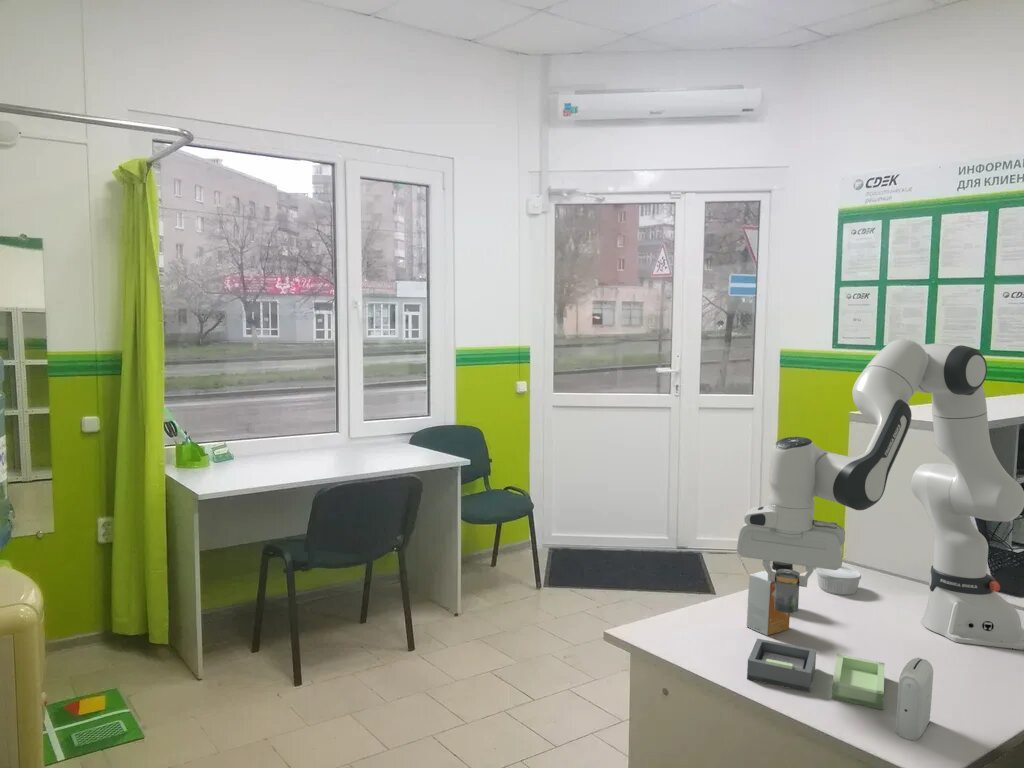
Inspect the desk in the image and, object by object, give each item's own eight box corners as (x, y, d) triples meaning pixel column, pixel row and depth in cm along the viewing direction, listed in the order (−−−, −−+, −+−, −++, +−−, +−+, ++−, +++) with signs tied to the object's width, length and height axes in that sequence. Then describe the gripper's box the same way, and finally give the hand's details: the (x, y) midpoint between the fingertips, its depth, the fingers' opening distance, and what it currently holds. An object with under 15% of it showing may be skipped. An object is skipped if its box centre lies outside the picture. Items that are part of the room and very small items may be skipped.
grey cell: (799, 606, 161) (801, 569, 160) (796, 614, 157) (798, 576, 156) (775, 602, 163) (777, 565, 163) (772, 610, 159) (774, 572, 158)
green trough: (883, 677, 161) (884, 663, 160) (882, 709, 147) (883, 694, 147) (836, 667, 165) (837, 653, 164) (831, 698, 151) (832, 683, 151)
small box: (767, 636, 180) (770, 582, 179) (745, 627, 185) (748, 573, 184) (790, 629, 184) (793, 576, 183) (767, 620, 190) (770, 568, 188)
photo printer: (918, 744, 136) (923, 675, 135) (892, 735, 139) (896, 668, 137) (932, 721, 144) (937, 656, 142) (907, 712, 146) (911, 649, 145)
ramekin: (866, 590, 212) (868, 571, 211) (848, 600, 204) (850, 581, 204) (826, 579, 220) (827, 561, 219) (808, 588, 212) (809, 570, 212)
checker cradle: (815, 668, 164) (816, 647, 164) (809, 692, 153) (810, 670, 153) (756, 656, 169) (757, 635, 169) (746, 679, 159) (748, 657, 158)
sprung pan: (804, 663, 163) (804, 659, 163) (800, 679, 156) (800, 675, 156) (764, 655, 167) (765, 651, 167) (758, 670, 159) (759, 666, 159)
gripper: (846, 520, 157) (843, 586, 158) (742, 507, 166) (739, 571, 167) (844, 528, 151) (841, 597, 152) (736, 514, 160) (734, 580, 161)
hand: (787, 583), depth 160 cm, fingers closed on grey cell, 5 cm apart
